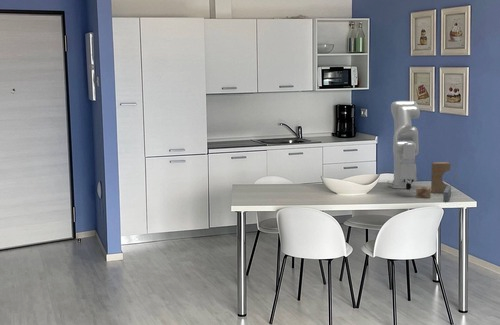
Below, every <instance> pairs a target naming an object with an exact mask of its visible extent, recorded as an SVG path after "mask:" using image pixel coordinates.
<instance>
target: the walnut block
mask: <svg viewBox="0 0 500 325" xmlns="http://www.w3.org/2000/svg"><path fill="white" fill-rule="evenodd" d="M415 194H416V195H415V196H416V197H415V198H416V199H430V198H429V197H431V186H417V187H416V190H415Z"/></svg>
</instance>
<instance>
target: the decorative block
mask: <svg viewBox="0 0 500 325" xmlns="http://www.w3.org/2000/svg"><path fill="white" fill-rule="evenodd" d="M448 171H451V163H450V162H448V161H438V162H432V163H431V177H430V178H431V180H430V182H431V184H430V187H431V189H430V193H433V194H444V190H445V188H446V187H447V186H450V185H449V184H447V183H444V181H443V175H444V174H445V173H446V172H448Z"/></svg>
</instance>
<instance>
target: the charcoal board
mask: <svg viewBox="0 0 500 325" xmlns="http://www.w3.org/2000/svg"><path fill="white" fill-rule="evenodd" d="M451 191H452V186H451V185H449V186H447V187H446V188H445V190H444V193H443V194H442V195H443V199H442V200H443V202H444V203H448V202H449V200H448V199H450V197H451V195H452V194H451V193H452V192H451Z"/></svg>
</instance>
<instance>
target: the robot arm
mask: <svg viewBox="0 0 500 325" xmlns="http://www.w3.org/2000/svg"><path fill="white" fill-rule="evenodd" d="M390 111H391V115H392V118H393V122H394V123H393V124H394V128H393V129H394V130H393V131H394V135H393V139H392V144H393V145H392V154H393V180H387V181H386V182H387V184H388V185H390V187H391V188H393V189H397V190H398V189H399V190H402V189H406V190H407V191H410V190H411V189H412V184H413V182H417V181H418V170H417V164H416V156H418V154H419V151H420V150H419V149H420V147H419V146H420V145H419V129H418V128H417V127H416V126H412V125H413V124H412V119H419V117H420V115H421V111H420V107H419V104H418V103H417V101H416V100H396V101H393V102H392V103H391V104H390Z"/></svg>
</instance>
